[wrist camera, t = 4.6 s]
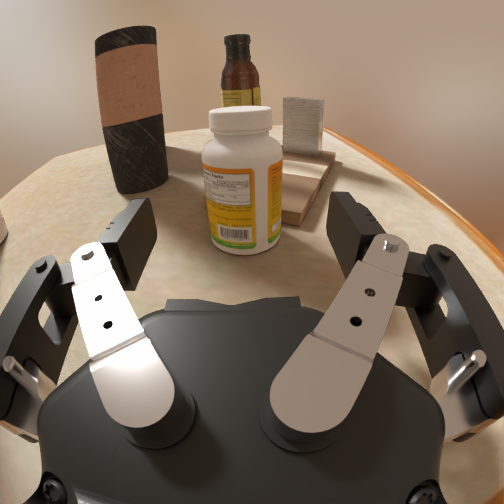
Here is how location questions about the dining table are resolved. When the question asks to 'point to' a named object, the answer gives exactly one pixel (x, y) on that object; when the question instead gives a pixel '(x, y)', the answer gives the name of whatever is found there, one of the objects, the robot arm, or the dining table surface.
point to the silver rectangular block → (302, 125)
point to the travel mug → (131, 107)
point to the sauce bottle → (239, 74)
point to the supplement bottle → (243, 180)
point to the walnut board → (301, 183)
